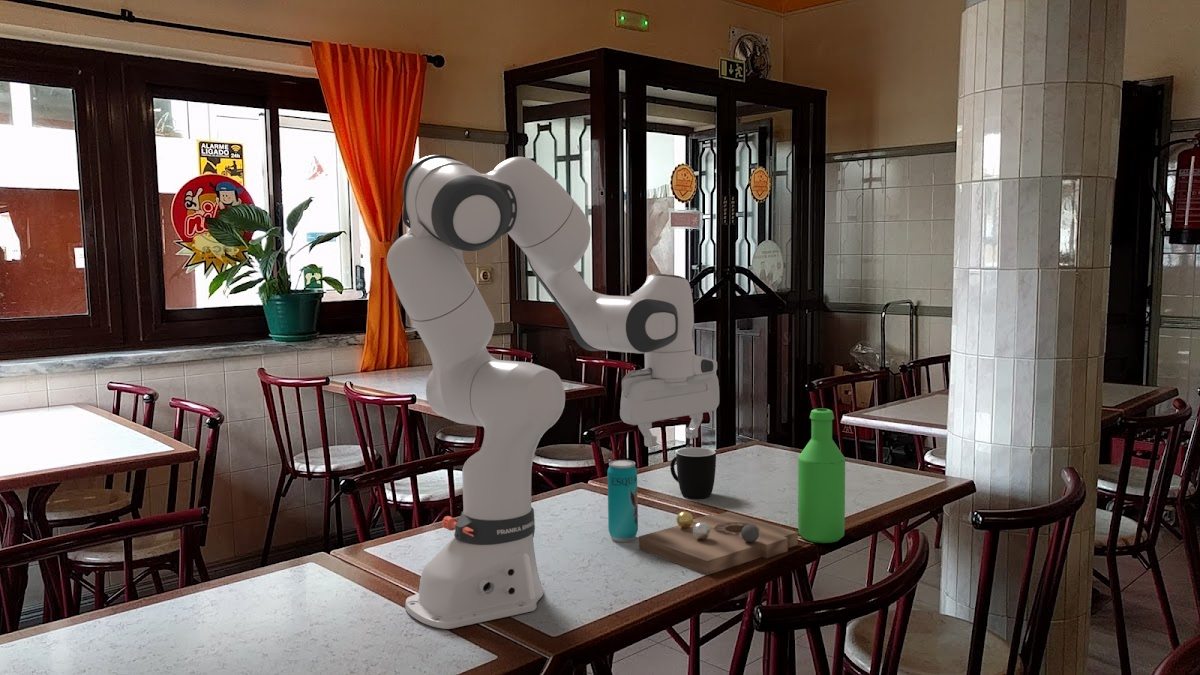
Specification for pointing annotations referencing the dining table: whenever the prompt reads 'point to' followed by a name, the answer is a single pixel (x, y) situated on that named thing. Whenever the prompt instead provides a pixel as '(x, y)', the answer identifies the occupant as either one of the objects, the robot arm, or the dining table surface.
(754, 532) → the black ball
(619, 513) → the beverage can
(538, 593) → the robot arm
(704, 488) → the mug
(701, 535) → the steel ball
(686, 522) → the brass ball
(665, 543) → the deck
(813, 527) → the bottle
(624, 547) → the dining table surface
